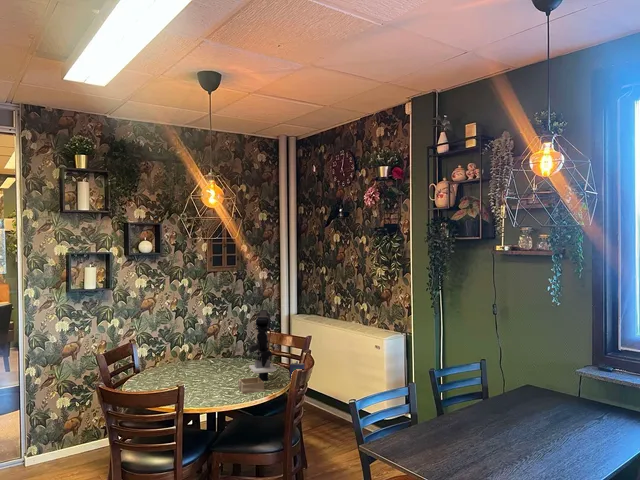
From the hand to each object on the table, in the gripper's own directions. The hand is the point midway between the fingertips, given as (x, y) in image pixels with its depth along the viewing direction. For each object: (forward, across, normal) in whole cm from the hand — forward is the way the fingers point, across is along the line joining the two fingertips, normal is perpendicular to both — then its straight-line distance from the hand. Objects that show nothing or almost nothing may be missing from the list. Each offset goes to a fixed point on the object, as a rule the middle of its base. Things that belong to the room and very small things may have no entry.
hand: (262, 365), depth 274 cm
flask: (+13, -12, +25) cm, 31 cm away
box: (+13, 0, -7) cm, 15 cm away
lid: (+3, 0, 0) cm, 3 cm away
